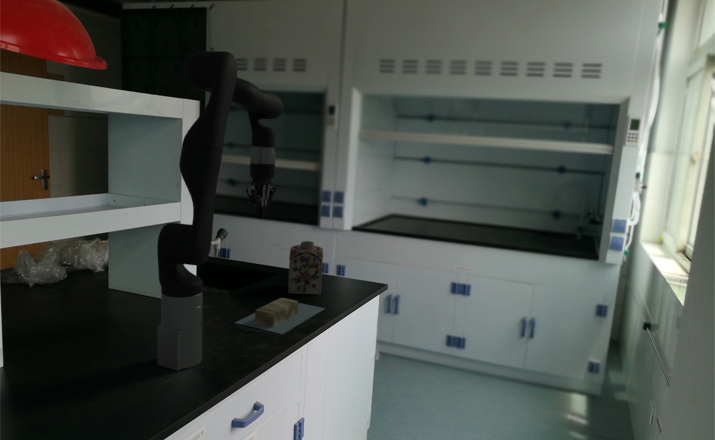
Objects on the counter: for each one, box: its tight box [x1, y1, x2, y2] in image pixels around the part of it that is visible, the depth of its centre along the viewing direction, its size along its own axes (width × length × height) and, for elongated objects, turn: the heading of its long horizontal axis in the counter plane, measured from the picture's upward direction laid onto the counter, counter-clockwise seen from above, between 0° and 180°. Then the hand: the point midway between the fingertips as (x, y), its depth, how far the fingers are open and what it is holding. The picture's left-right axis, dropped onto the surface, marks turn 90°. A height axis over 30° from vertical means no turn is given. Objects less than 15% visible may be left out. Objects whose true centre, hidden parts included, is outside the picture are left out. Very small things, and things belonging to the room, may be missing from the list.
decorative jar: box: [287, 240, 324, 295], centre depth 185 cm, size 12×12×18 cm
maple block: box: [254, 297, 299, 327], centre depth 155 cm, size 4×6×14 cm
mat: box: [234, 302, 326, 337], centre depth 158 cm, size 26×16×1 cm, turn 157°
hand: (260, 218), depth 161 cm, fingers closed
